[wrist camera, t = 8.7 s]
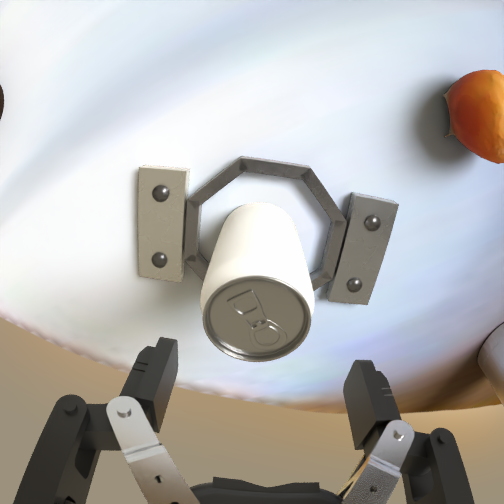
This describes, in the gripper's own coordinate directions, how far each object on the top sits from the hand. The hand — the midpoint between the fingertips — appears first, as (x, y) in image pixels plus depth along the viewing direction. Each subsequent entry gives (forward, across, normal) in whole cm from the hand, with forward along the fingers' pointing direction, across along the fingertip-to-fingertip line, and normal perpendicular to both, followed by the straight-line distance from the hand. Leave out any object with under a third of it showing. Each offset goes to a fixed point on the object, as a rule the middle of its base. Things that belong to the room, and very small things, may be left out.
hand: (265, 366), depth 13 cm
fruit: (+15, -17, -15) cm, 27 cm away
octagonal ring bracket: (+15, 0, 0) cm, 15 cm away
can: (+15, +1, 0) cm, 15 cm away
